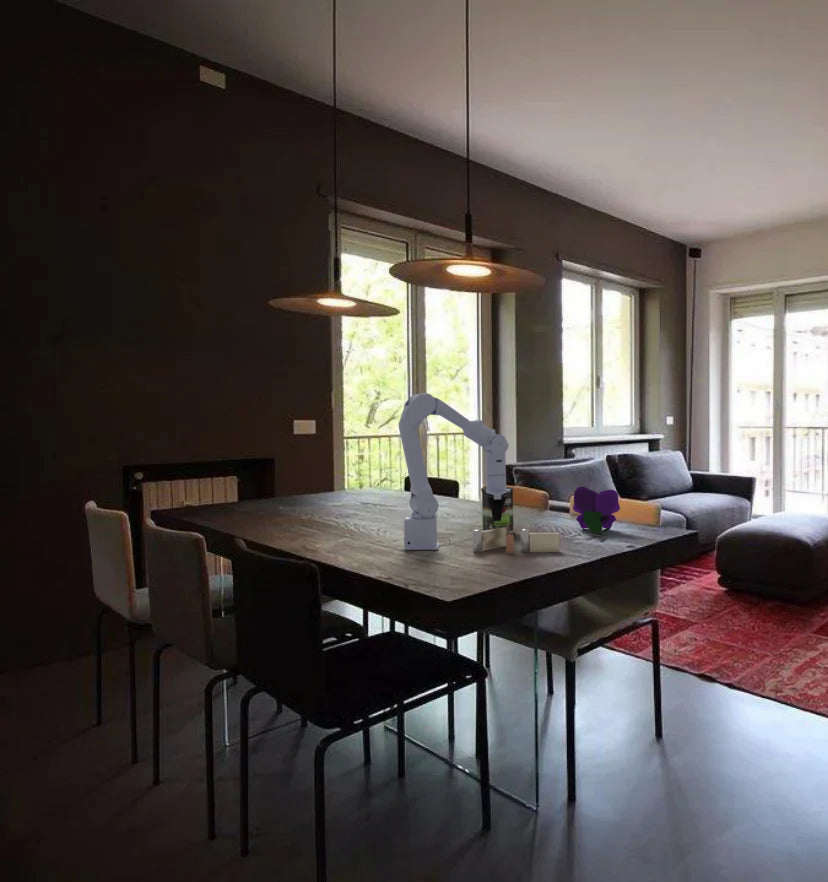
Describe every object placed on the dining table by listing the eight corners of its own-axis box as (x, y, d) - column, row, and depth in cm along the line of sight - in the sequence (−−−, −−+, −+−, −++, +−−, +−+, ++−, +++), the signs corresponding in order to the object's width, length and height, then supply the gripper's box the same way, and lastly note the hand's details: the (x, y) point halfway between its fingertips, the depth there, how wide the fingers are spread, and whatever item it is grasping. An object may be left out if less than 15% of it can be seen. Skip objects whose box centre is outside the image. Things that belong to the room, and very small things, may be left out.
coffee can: (518, 533, 201) (518, 489, 201) (487, 535, 199) (486, 490, 199) (507, 528, 211) (506, 485, 211) (477, 530, 209) (476, 487, 209)
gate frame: (473, 553, 174) (472, 531, 174) (473, 550, 177) (472, 529, 177) (560, 553, 172) (559, 530, 172) (558, 550, 175) (558, 528, 175)
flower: (623, 551, 195) (618, 524, 207) (626, 512, 188) (620, 486, 199) (574, 551, 198) (571, 524, 209) (575, 512, 190) (572, 486, 202)
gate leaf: (483, 550, 176) (483, 532, 176) (479, 549, 178) (479, 531, 177) (509, 545, 182) (509, 527, 182) (505, 544, 183) (505, 527, 183)
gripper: (511, 477, 180) (512, 524, 181) (508, 472, 195) (509, 516, 195) (486, 477, 181) (487, 525, 181) (484, 472, 195) (485, 516, 196)
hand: (497, 520), depth 188 cm, fingers closed
